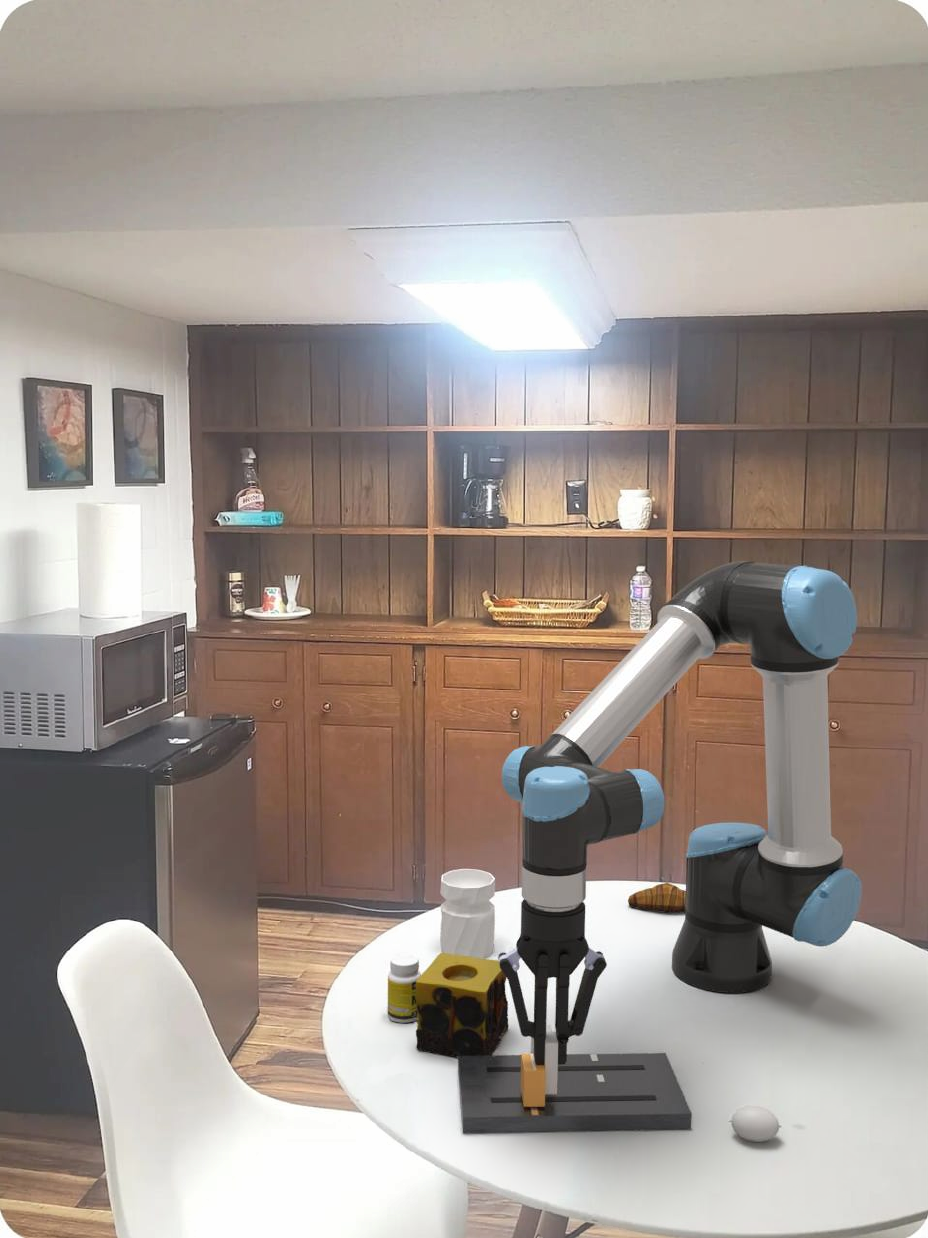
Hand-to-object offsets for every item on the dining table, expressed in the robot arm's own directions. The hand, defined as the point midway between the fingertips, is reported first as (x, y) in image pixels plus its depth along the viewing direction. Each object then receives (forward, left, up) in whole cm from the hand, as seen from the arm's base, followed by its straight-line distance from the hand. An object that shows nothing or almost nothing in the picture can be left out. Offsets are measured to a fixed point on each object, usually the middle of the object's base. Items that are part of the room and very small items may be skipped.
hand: (549, 1087), depth 138 cm
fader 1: (0, -7, -1) cm, 7 cm away
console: (-3, -3, -4) cm, 6 cm away
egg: (-23, +6, -4) cm, 24 cm away
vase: (+8, -47, -4) cm, 48 cm away
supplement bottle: (+18, -25, -4) cm, 31 cm away
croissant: (-28, -64, -4) cm, 70 cm away
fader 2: (+2, 0, -1) cm, 2 cm away
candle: (+10, -18, -4) cm, 21 cm away
